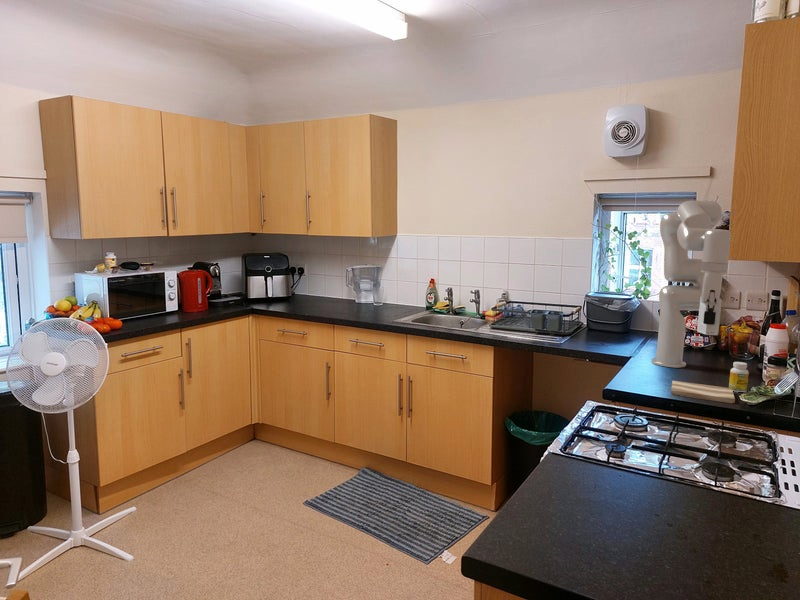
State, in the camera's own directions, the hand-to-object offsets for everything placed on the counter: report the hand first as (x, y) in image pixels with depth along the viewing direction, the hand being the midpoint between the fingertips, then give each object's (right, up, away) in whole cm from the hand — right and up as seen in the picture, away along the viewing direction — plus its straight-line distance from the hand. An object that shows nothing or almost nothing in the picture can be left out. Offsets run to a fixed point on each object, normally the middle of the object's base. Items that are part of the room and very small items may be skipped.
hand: (708, 322), depth 192 cm
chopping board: (-2, -24, +1) cm, 24 cm away
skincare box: (0, -4, +1) cm, 4 cm away
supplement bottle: (+13, -24, +6) cm, 28 cm away
